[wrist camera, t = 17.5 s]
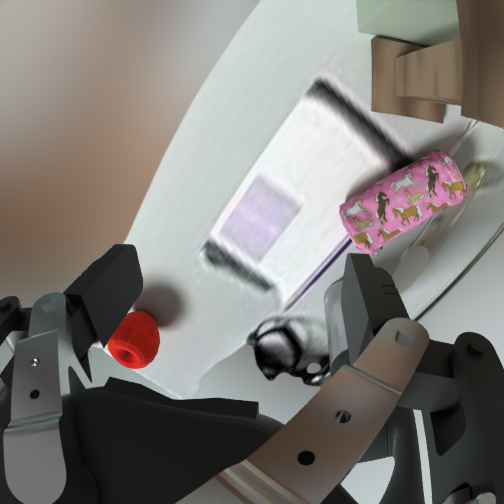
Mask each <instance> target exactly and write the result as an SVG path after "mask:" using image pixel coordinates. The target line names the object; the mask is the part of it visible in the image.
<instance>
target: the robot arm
mask: <svg viewBox="0 0 504 504" xmlns="http://www.w3.org/2000/svg"><path fill="white" fill-rule="evenodd" d="M142 289H143V277H142V273H141V269H140V264H139V260H138V256H137V251H136V248H135V246H134V245H130V244H115V245H114V246H113V247H112V248H110V249H109V250H108V251H107V253H105V254H104V255H103V256H102V257H101V258H99V259H97V260H96V261H94V262H93V263H92V264H91V265H90V266H89V267H88V268H87V270H85V271H84V272H83V273H82V274H81V276H79V277H78V278H77V279H76V280H75V281H74V282H73V283H72V284H71V285H70V286H69V287H68V288H67V289H66V290H65V291H64V292H63V293H60V292H52V293H49V294H46V295H44V296H42V297H41V298H39V299H38V300H37V301H36V302H35V303H34V305H33V307H31V308H22V305H21V303H20V301H19V299H18V298H17V297H15V296H9V297H6V298H4V299H2V300H0V346H1V344H2V343H3V342H4V340H5V341H6V342H7V344H8V345H9V347H10V349H11V351H12V352H13V354H14V356H13V357H12V358H11V360H10V361H9V363H8V364H7V366H6V367H5V368H4V370H3V371H2V373H1V374H0V504H358V503H357V502H356V501H355V500H354V499H353V497H352V496H351V495H350V494H349V493H348V492H347V491H346V490H345V489H344V488H343V487H342V486H341V482H342V481H343V480H344V479H345V477H346V476H347V475H348V474H349V473H350V471H351V470H352V469H353V468H354V466H355V465H356V464H357V463H361V462H367V461H372V460H376V459H382V458H386V457H391V456H393V457H394V459H395V466H394V470H393V474H392V477H391V480H390V482H389V484H388V487H387V489H386V491H385V494H384V495H383V497H382V499H381V501H380V503H379V504H425V501H424V492H423V482H422V471H421V461H420V453H419V444H418V436H417V429H416V423H415V417H414V412H413V409H416V410H421V411H422V417H423V423H424V429H425V436H426V443H427V450H428V457H429V466H430V476H431V487H432V504H504V369H503V366H502V364H501V362H500V359H499V357H498V355H497V353H496V351H495V349H494V347H493V345H492V344H491V343H490V341H489V340H487V339H486V338H485V337H484V336H482V335H480V334H477V333H474V332H465V333H462V334H461V335H459V336H458V337H457V339H456V341H455V343H454V344H449V343H444V342H439V341H434V340H431V339H429V334H428V332H427V330H426V329H425V328H424V327H423V326H422V325H421V324H419V323H418V322H416V321H414V320H411V319H410V318H409V315H408V313H407V311H406V308H405V306H404V304H403V301H402V299H401V297H400V295H399V293H398V290H397V288H396V287H395V284H394V282H393V279H392V277H391V276H390V275H389V274H388V273H387V272H386V271H385V270H384V269H382V268H375V267H374V265H373V263H372V260H371V258H370V256H369V254H360V253H348V254H347V258H346V264H345V271H344V277H343V280H340V281H337V282H336V283H334V284H332V285H331V286H330V287H329V288H328V290H327V291H326V293H325V296H324V306H325V316H326V326H327V336H328V347H329V357H330V371H331V379H330V380H329V381H328V382H327V383H326V384H325V385H324V386H323V387H322V388H321V389H320V390H319V392H318V393H317V394H316V395H315V396H314V397H313V398H312V399H311V400H310V401H309V402H308V403H307V404H306V405H305V406H304V407H303V408H302V409H301V410H300V411H299V412H298V413H297V414H296V415H295V416H294V417H293V418H292V419H291V420H290V421H288V422H287V423H286V424H285V425H284V424H282V423H281V422H279V421H277V420H275V419H273V418H270V417H268V416H265V415H262V414H259V407H258V406H259V405H258V402H254V401H243V400H233V399H225V398H206V399H186V400H174V399H171V398H169V397H166V396H164V395H162V394H160V393H158V392H156V391H153V390H152V389H150V388H147V387H145V386H143V385H141V384H138V383H134V382H129V381H125V380H121V379H117V378H113V377H109V379H108V380H107V382H106V384H105V386H103V387H97V383H96V378H95V372H94V366H93V361H92V355H91V353H90V351H89V348H90V347H91V346H94V347H99V348H103V349H104V347H105V346H106V344H107V343H108V341H109V340H110V338H111V337H112V335H113V334H114V332H115V331H116V329H117V328H118V326H119V325H120V323H121V322H122V320H123V319H124V317H125V316H126V314H127V313H128V311H129V310H130V308H131V307H132V306H133V304H134V303H135V301H136V300H137V298H138V297H139V295H140V294H141V292H142ZM10 422H11V424H10V426H9V427H8V425H9V423H10Z"/></svg>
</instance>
